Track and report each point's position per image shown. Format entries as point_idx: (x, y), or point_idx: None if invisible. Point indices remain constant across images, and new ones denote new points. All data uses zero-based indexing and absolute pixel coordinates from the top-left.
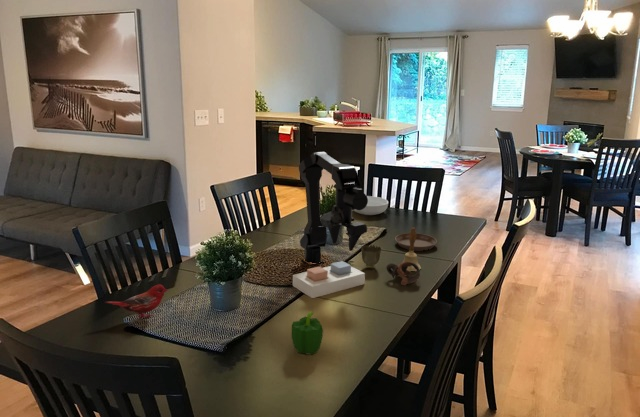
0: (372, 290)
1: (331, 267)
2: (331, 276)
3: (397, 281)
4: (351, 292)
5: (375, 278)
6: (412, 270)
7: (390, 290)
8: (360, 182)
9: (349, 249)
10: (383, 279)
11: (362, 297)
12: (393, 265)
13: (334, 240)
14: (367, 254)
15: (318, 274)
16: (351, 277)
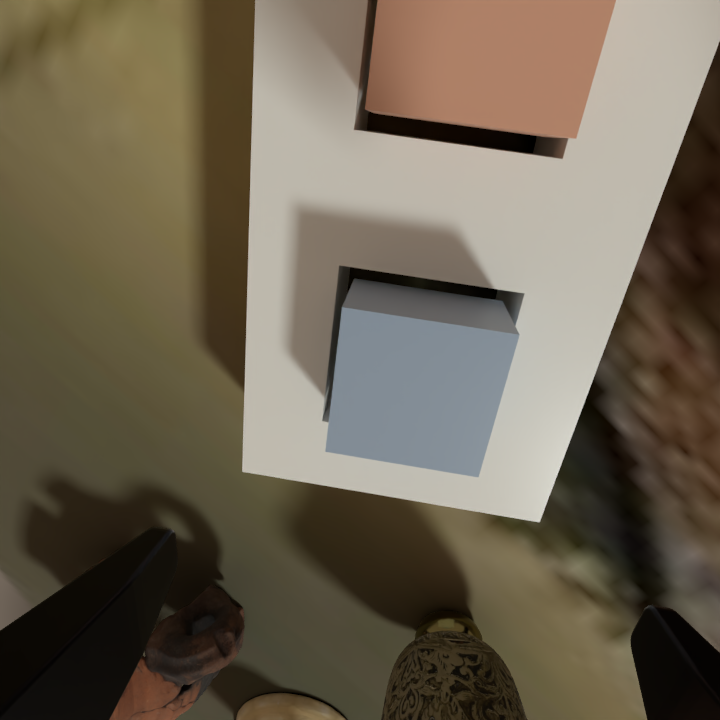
0: (153, 378)
1: (498, 316)
2: (374, 184)
3: (186, 573)
4: (203, 236)
5: (297, 529)
6: (246, 708)
7: (97, 456)
8: None
9: (153, 541)
10: (255, 547)
11: (85, 233)
12: (172, 665)
13: (673, 677)
14: (432, 706)
15: None
16: (247, 334)
